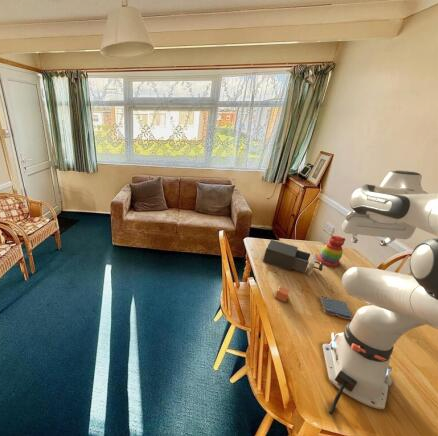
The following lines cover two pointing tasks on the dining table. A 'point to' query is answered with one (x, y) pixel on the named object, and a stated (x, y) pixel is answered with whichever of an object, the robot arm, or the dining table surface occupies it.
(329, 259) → the stacking bear
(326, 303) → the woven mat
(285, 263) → the cabinet
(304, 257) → the drawer
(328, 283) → the dining table surface
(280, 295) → the block
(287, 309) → the dining table surface
